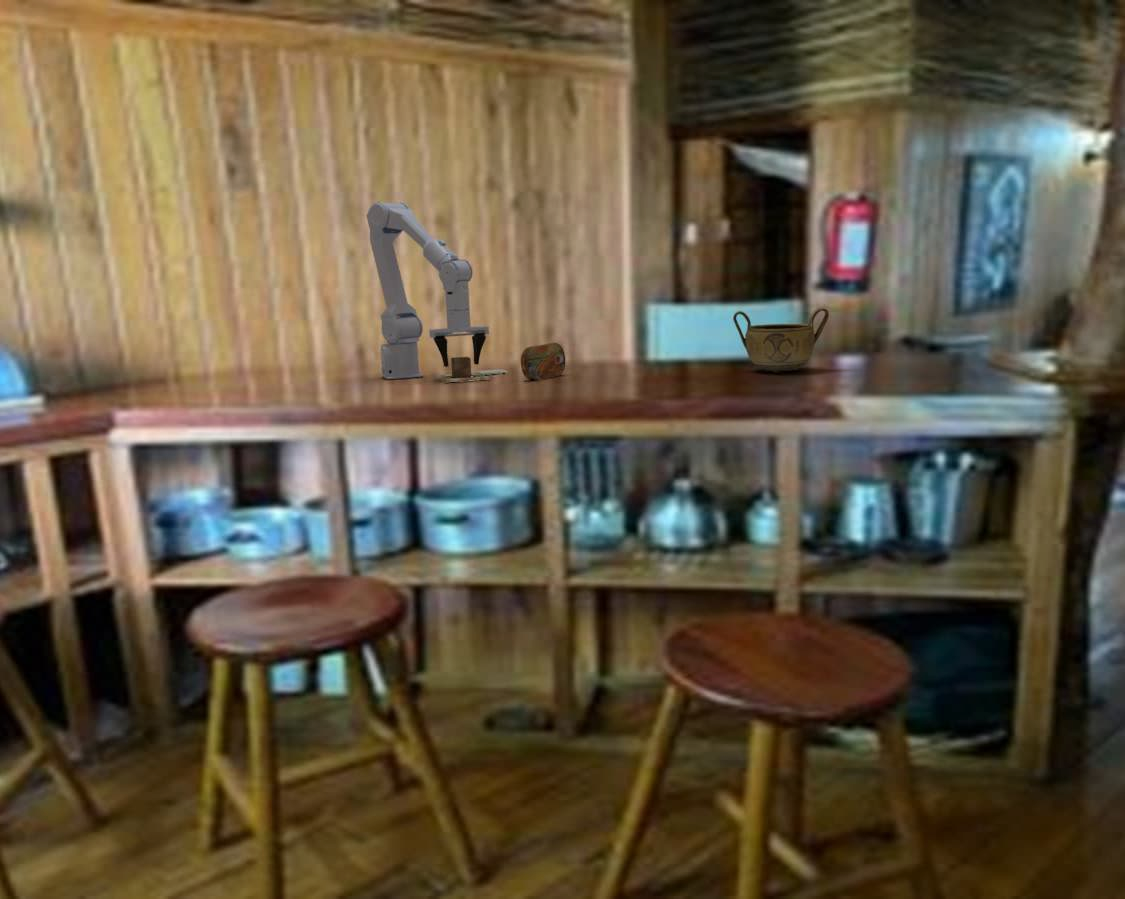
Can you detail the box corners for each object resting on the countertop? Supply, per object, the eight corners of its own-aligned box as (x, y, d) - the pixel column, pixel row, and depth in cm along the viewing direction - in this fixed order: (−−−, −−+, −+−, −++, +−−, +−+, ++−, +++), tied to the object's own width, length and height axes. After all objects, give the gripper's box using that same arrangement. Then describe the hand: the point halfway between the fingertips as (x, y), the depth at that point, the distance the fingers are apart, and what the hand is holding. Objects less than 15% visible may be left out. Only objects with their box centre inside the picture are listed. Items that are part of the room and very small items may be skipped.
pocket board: (445, 383, 237) (445, 380, 237) (435, 378, 249) (435, 375, 248) (489, 380, 241) (489, 377, 241) (477, 375, 252) (477, 372, 252)
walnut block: (455, 381, 242) (454, 359, 241) (452, 379, 246) (451, 357, 245) (471, 380, 243) (470, 358, 242) (467, 378, 247) (466, 356, 246)
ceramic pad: (482, 375, 251) (482, 373, 251) (475, 373, 258) (475, 371, 258) (508, 373, 253) (508, 371, 253) (501, 371, 260) (501, 369, 260)
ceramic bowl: (825, 366, 244) (825, 305, 241) (830, 374, 228) (831, 309, 225) (733, 368, 248) (733, 308, 245) (732, 376, 232) (732, 311, 229)
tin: (529, 382, 235) (527, 346, 234) (519, 381, 237) (517, 346, 236) (567, 375, 247) (566, 341, 245) (557, 374, 249) (556, 341, 247)
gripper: (432, 312, 235) (435, 368, 238) (490, 308, 240) (493, 364, 242) (426, 311, 242) (430, 366, 245) (483, 308, 247) (486, 362, 249)
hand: (461, 365), depth 244 cm, fingers open, 7 cm apart
